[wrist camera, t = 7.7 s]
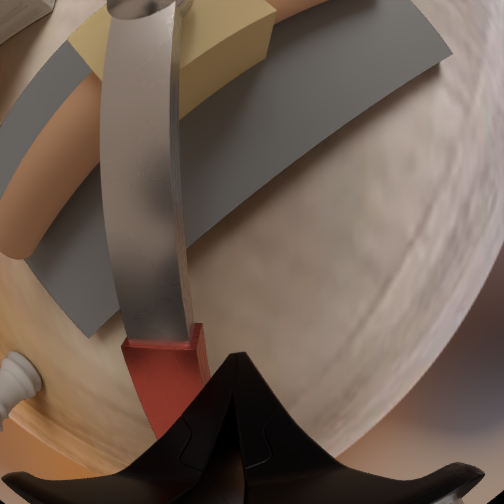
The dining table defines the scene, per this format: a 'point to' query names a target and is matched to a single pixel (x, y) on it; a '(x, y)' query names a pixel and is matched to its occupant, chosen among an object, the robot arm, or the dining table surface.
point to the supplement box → (21, 15)
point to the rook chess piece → (16, 382)
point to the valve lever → (149, 206)
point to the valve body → (195, 123)
